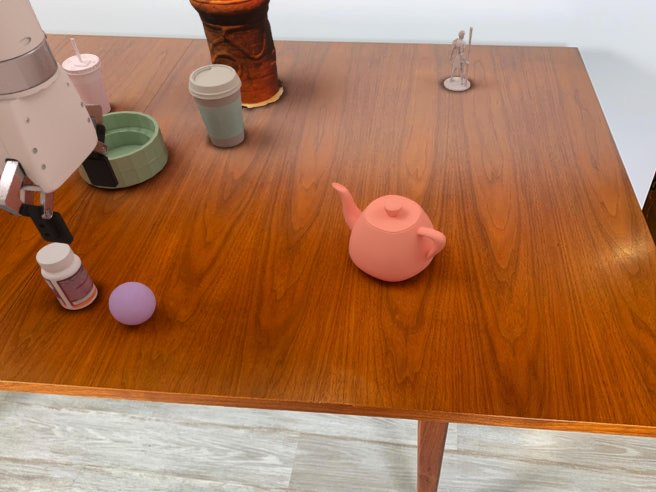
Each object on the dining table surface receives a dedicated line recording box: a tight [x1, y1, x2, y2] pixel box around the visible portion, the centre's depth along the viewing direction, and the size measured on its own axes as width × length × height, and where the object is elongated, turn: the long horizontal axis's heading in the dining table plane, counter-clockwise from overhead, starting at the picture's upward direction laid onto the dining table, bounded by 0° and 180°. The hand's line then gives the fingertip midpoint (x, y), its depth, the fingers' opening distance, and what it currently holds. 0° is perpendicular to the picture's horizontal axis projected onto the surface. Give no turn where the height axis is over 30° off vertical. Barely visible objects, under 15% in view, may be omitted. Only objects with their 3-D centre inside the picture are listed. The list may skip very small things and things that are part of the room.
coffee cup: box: [188, 64, 245, 148], centre depth 99 cm, size 9×8×12 cm
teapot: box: [331, 182, 447, 283], centre depth 80 cm, size 12×18×10 cm
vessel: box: [188, 0, 284, 109], centre depth 107 cm, size 14×14×20 cm
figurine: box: [443, 26, 474, 92], centre depth 111 cm, size 5×5×12 cm
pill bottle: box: [35, 242, 98, 311], centre depth 75 cm, size 5×5×8 cm
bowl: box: [76, 110, 169, 189], centre depth 96 cm, size 14×14×6 cm
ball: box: [108, 281, 157, 326], centre depth 74 cm, size 6×6×6 cm
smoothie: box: [61, 37, 112, 115], centre depth 105 cm, size 6×6×14 cm
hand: (84, 211), depth 65 cm, fingers open, 9 cm apart
